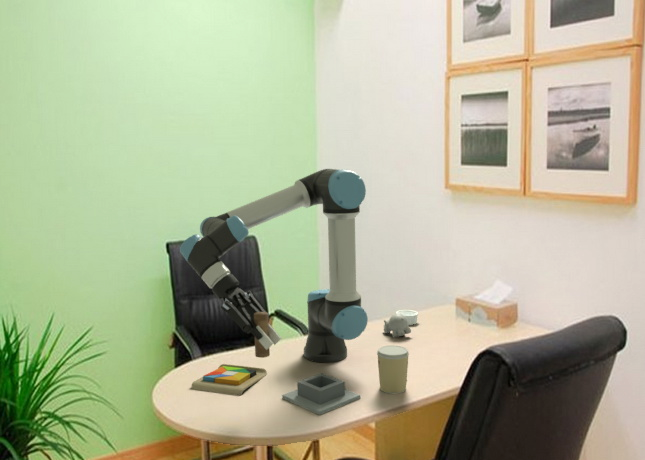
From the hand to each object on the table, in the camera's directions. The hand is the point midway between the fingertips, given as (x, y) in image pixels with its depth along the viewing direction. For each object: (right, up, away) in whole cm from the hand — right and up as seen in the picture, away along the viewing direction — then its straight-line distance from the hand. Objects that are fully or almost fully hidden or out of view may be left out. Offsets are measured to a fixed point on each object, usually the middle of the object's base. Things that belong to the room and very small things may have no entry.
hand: (274, 343), depth 175 cm
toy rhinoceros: (+41, -9, +65) cm, 77 cm away
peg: (-3, -3, +2) cm, 5 cm away
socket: (+13, -17, +8) cm, 23 cm away
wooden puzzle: (-15, -16, +22) cm, 31 cm away
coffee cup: (+35, -16, +14) cm, 41 cm away
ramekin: (+48, -6, +81) cm, 94 cm away
